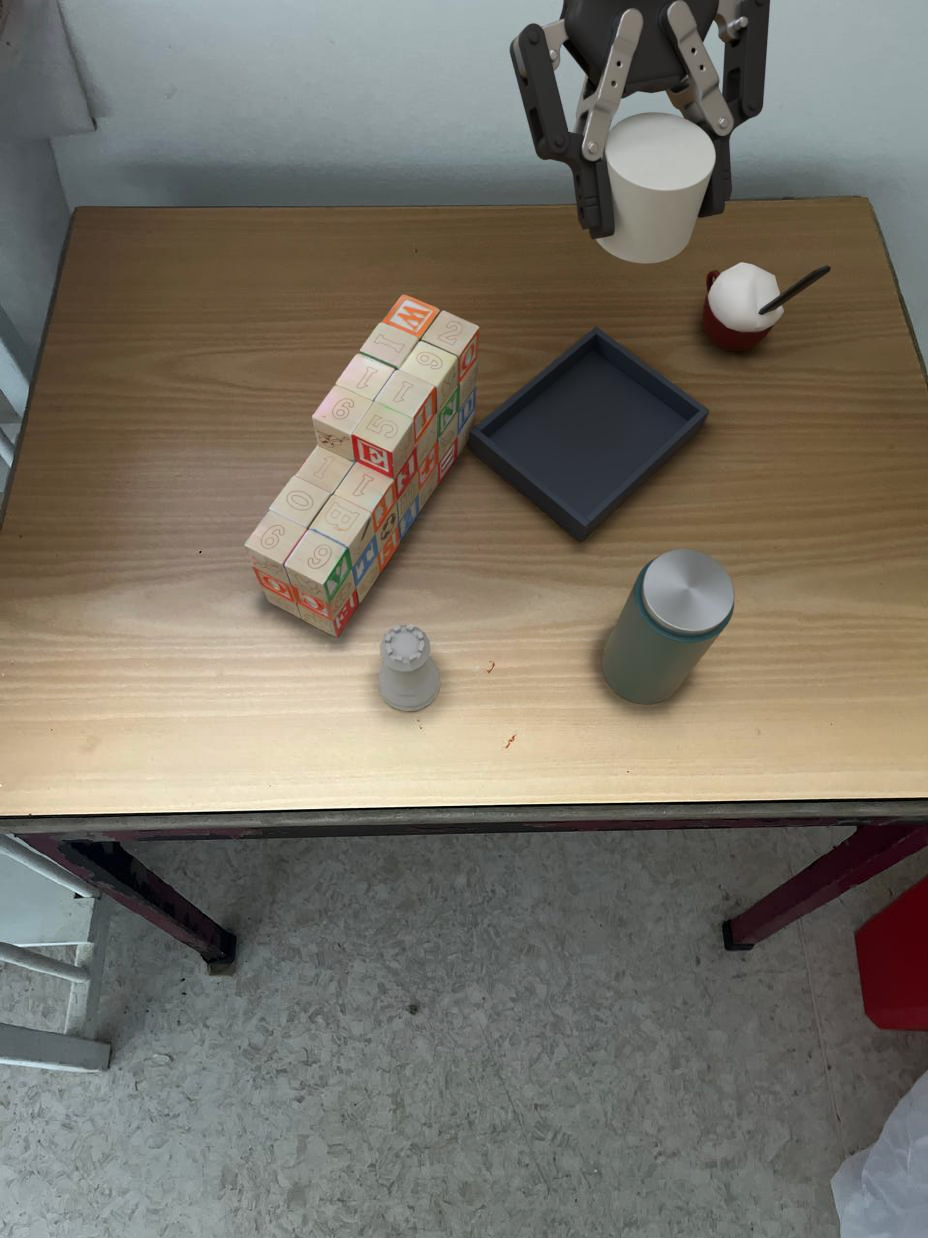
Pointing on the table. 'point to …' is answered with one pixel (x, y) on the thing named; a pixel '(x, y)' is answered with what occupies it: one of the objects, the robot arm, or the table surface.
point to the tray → (587, 432)
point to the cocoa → (746, 304)
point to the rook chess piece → (407, 669)
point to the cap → (655, 184)
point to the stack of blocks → (369, 464)
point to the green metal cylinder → (667, 625)
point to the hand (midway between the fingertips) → (657, 225)
